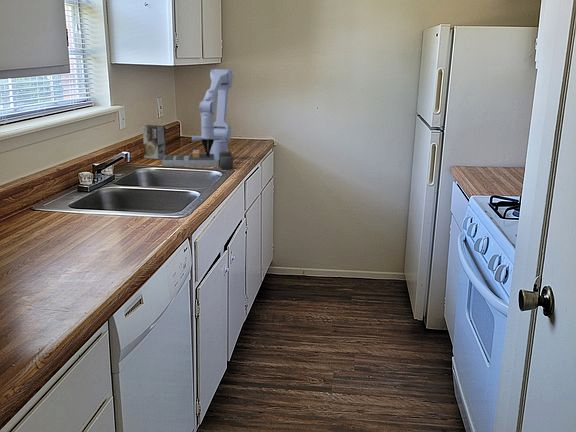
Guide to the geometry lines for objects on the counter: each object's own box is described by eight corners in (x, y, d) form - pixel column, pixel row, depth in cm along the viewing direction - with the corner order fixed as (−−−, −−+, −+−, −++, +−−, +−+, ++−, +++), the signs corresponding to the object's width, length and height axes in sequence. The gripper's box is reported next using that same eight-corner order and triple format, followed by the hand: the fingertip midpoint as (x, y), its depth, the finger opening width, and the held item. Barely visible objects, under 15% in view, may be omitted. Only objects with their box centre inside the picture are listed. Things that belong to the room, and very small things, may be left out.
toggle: (199, 158, 275) (199, 151, 275) (199, 159, 272) (199, 153, 271) (192, 158, 275) (192, 151, 274) (192, 159, 271) (192, 153, 270)
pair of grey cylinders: (231, 161, 286) (231, 151, 285) (233, 169, 266) (233, 158, 265) (219, 161, 286) (219, 151, 284) (220, 169, 265) (220, 158, 264)
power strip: (218, 161, 285) (218, 149, 283) (218, 166, 272) (218, 153, 271) (164, 161, 281) (163, 149, 279) (162, 166, 269) (161, 153, 267)
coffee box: (166, 157, 293) (165, 125, 289) (158, 159, 287) (157, 126, 283) (151, 156, 296) (150, 124, 292) (143, 157, 291) (142, 125, 287)
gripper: (191, 127, 265) (192, 157, 269) (223, 128, 267) (223, 157, 271) (191, 125, 272) (192, 154, 276) (223, 126, 274) (223, 154, 278)
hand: (207, 155), depth 274 cm, fingers closed
